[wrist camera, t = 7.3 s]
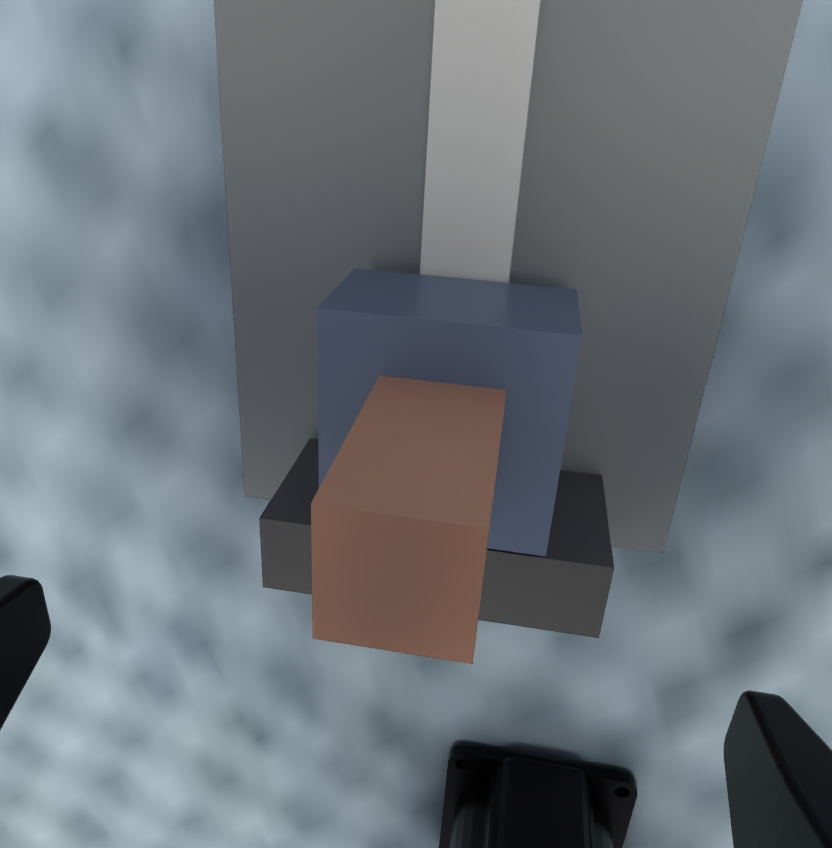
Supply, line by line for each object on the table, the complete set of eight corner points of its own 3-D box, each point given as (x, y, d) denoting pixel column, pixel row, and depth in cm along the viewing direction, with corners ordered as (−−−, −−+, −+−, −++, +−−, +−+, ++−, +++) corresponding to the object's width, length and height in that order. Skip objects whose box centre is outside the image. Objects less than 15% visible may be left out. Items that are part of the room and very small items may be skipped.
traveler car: (546, 484, 18) (544, 735, 12) (351, 459, 19) (240, 683, 12) (576, 289, 16) (597, 459, 9) (354, 268, 17) (219, 413, 10)
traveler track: (658, 532, 21) (686, 658, 17) (256, 478, 23) (185, 581, 18) (939, -614, 11) (1187, -1041, 7) (200, -580, 13) (16, -916, 8)
